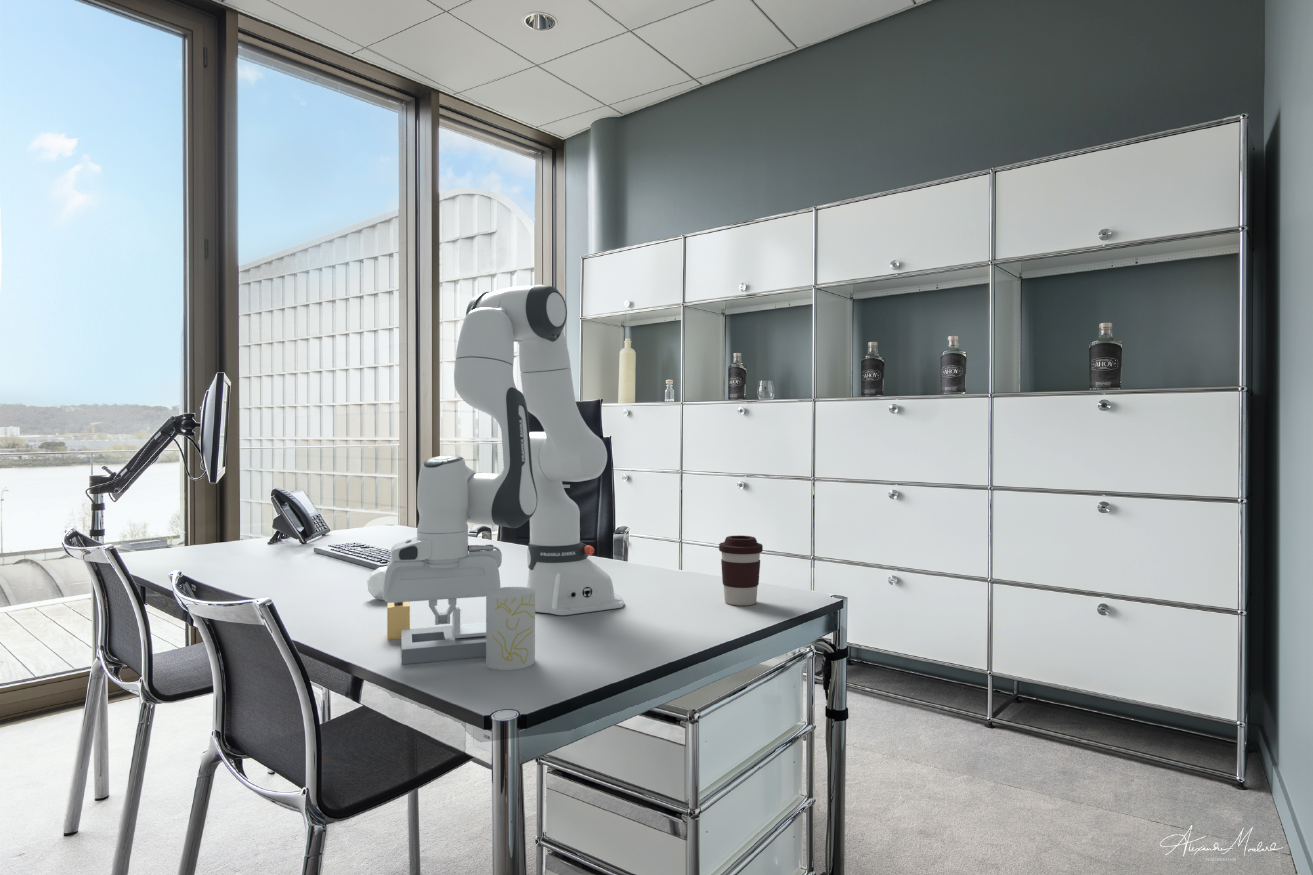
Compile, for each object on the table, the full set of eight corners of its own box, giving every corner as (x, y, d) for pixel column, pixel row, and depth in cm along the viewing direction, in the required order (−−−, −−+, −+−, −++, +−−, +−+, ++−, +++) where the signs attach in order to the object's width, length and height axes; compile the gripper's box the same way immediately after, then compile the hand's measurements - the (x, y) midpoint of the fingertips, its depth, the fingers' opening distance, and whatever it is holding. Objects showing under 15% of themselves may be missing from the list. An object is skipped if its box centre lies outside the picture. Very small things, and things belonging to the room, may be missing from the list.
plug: (409, 632, 144) (409, 591, 144) (409, 637, 140) (409, 595, 140) (387, 634, 143) (387, 592, 142) (387, 639, 139) (387, 597, 139)
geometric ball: (392, 608, 173) (413, 579, 176) (382, 604, 166) (404, 573, 168) (366, 591, 174) (387, 563, 177) (355, 586, 167) (377, 556, 170)
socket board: (401, 643, 136) (401, 629, 136) (484, 635, 141) (484, 622, 141) (401, 664, 124) (401, 649, 124) (492, 655, 129) (492, 641, 129)
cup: (493, 672, 120) (493, 599, 120) (480, 658, 127) (480, 589, 127) (541, 665, 124) (541, 594, 124) (526, 652, 131) (526, 585, 131)
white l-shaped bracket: (452, 628, 136) (452, 603, 136) (488, 625, 138) (488, 600, 138) (454, 638, 130) (454, 612, 130) (492, 635, 132) (492, 609, 132)
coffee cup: (732, 595, 176) (732, 533, 176) (769, 601, 171) (770, 536, 170) (710, 603, 168) (710, 537, 168) (749, 610, 162) (749, 541, 162)
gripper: (499, 541, 139) (499, 615, 139) (383, 546, 132) (383, 623, 132) (503, 546, 133) (503, 623, 133) (382, 552, 126) (382, 632, 126)
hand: (442, 623), depth 132 cm, fingers closed
